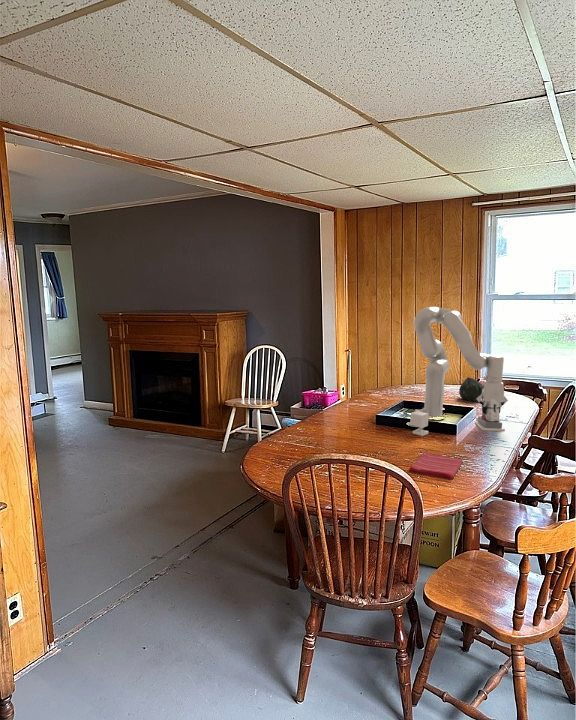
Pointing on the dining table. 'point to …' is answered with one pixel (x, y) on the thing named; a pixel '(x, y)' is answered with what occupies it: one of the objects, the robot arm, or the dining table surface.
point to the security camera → (419, 422)
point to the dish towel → (436, 466)
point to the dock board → (489, 424)
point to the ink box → (491, 411)
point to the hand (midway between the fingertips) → (490, 413)
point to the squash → (470, 389)
